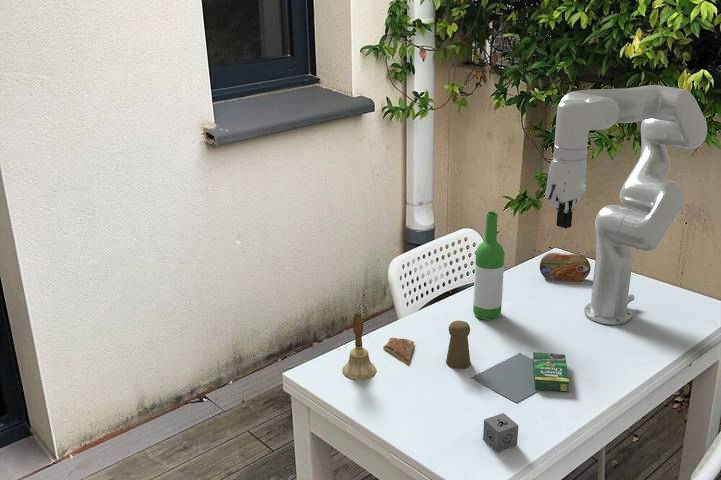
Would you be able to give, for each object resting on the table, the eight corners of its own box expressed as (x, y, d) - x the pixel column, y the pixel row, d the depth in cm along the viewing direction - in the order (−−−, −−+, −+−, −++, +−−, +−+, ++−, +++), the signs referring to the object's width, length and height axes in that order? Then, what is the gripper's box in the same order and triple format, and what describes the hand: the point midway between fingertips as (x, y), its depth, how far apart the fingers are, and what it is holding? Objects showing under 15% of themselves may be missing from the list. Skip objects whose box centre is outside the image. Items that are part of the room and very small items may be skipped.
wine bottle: (487, 323, 207) (493, 220, 196) (467, 313, 213) (471, 212, 202) (506, 315, 212) (513, 213, 201) (486, 305, 217) (491, 206, 207)
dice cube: (497, 452, 155) (498, 432, 153) (482, 439, 159) (484, 419, 157) (517, 445, 157) (518, 425, 155) (502, 432, 161) (503, 412, 159)
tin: (538, 279, 234) (540, 254, 231) (538, 275, 237) (540, 250, 234) (589, 282, 232) (592, 256, 229) (588, 278, 234) (590, 252, 231)
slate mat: (519, 353, 192) (519, 352, 192) (565, 375, 182) (565, 375, 182) (470, 378, 182) (470, 377, 181) (516, 403, 171) (516, 402, 171)
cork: (456, 354, 192) (457, 315, 188) (475, 362, 188) (477, 322, 184) (440, 362, 188) (442, 323, 184) (460, 371, 184) (461, 331, 180)
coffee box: (567, 353, 186) (570, 382, 174) (566, 363, 187) (569, 392, 175) (533, 350, 187) (534, 378, 175) (532, 361, 188) (533, 389, 176)
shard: (408, 366, 188) (408, 360, 187) (378, 364, 189) (378, 357, 189) (415, 345, 198) (415, 339, 197) (386, 342, 199) (386, 336, 199)
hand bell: (370, 382, 181) (370, 322, 175) (337, 377, 183) (336, 317, 177) (380, 364, 188) (379, 306, 182) (348, 360, 190) (346, 302, 185)
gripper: (576, 145, 186) (569, 215, 192) (537, 155, 177) (531, 229, 184) (602, 150, 180) (595, 223, 187) (563, 162, 172) (557, 238, 178)
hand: (563, 226), depth 185 cm, fingers closed
